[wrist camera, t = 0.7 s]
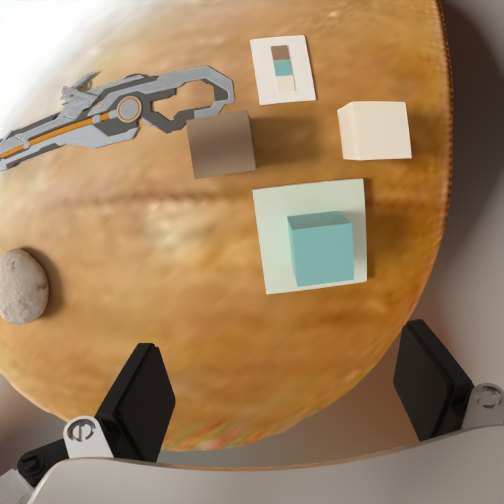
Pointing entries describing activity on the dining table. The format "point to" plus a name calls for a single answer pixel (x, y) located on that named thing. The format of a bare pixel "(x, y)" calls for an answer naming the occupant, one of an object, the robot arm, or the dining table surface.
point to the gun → (112, 113)
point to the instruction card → (282, 70)
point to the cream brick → (374, 130)
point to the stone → (22, 287)
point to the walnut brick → (221, 144)
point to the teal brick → (321, 248)
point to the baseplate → (299, 203)
